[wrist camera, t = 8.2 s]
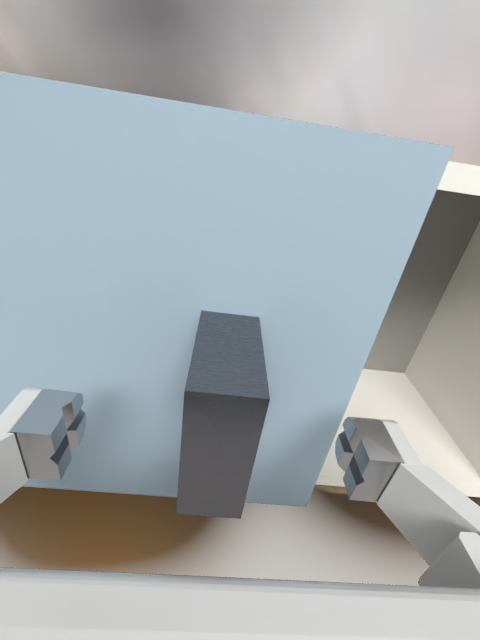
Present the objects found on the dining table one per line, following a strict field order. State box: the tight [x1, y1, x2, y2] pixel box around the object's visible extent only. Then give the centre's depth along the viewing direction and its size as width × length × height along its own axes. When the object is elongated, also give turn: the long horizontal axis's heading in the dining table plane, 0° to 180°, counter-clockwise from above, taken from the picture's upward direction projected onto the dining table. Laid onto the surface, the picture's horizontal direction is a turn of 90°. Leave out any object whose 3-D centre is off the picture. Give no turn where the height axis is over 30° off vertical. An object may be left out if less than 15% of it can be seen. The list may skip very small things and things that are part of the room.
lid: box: [0, 71, 454, 518], centre depth 10 cm, size 19×17×5 cm
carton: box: [316, 161, 480, 497], centre depth 18 cm, size 18×16×11 cm
